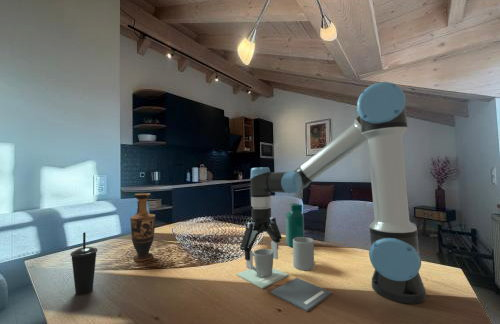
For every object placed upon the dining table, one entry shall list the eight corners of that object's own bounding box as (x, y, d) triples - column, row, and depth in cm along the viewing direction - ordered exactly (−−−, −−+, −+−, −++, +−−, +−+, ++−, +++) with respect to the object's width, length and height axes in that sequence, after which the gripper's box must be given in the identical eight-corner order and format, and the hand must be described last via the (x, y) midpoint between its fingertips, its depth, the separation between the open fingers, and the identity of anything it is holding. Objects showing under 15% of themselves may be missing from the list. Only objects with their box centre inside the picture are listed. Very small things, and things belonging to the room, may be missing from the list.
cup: (273, 279, 86) (272, 255, 87) (246, 277, 89) (245, 254, 89) (275, 271, 94) (274, 248, 94) (250, 269, 96) (250, 248, 96)
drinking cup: (81, 285, 86) (81, 229, 86) (102, 285, 85) (102, 229, 86) (64, 297, 78) (64, 235, 78) (87, 297, 78) (87, 235, 78)
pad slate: (331, 293, 78) (331, 291, 78) (306, 311, 68) (306, 309, 68) (296, 279, 88) (296, 277, 88) (270, 293, 79) (270, 290, 79)
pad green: (288, 275, 91) (288, 273, 91) (262, 288, 82) (262, 286, 82) (262, 265, 101) (262, 263, 101) (236, 275, 92) (236, 273, 92)
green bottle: (285, 242, 131) (284, 202, 132) (300, 241, 132) (299, 201, 132) (290, 248, 121) (289, 205, 122) (306, 247, 122) (305, 204, 123)
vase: (158, 259, 110) (157, 193, 110) (132, 265, 104) (132, 195, 104) (152, 252, 119) (152, 192, 119) (128, 257, 112) (128, 193, 113)
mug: (314, 271, 94) (313, 243, 95) (292, 269, 97) (291, 242, 97) (314, 260, 106) (313, 235, 106) (294, 258, 108) (294, 234, 108)
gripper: (275, 202, 103) (277, 252, 103) (229, 210, 86) (230, 270, 86) (289, 204, 98) (291, 256, 97) (242, 213, 81) (244, 276, 80)
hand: (262, 263), depth 91 cm, fingers open, 13 cm apart
